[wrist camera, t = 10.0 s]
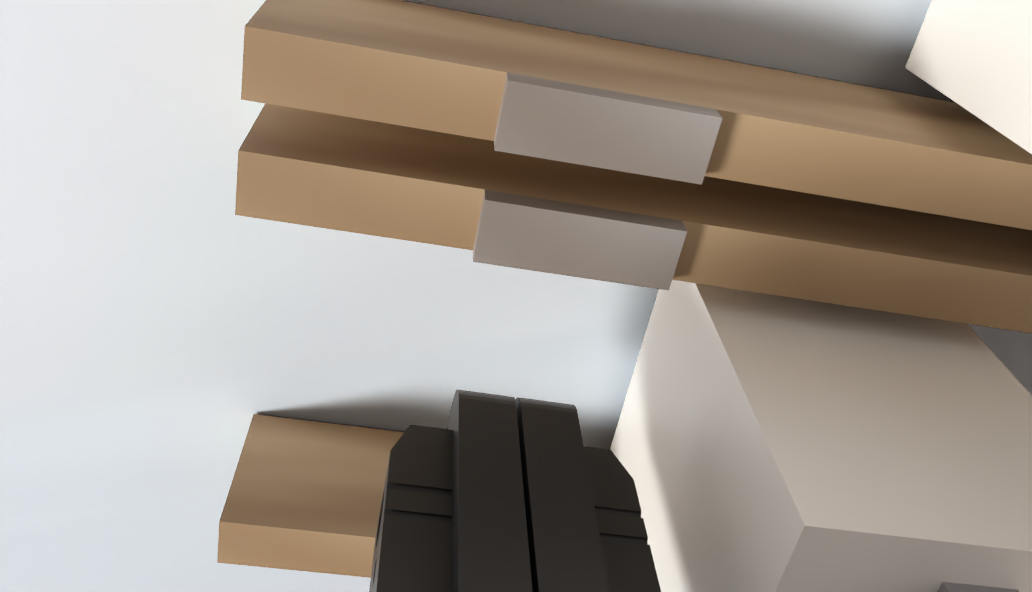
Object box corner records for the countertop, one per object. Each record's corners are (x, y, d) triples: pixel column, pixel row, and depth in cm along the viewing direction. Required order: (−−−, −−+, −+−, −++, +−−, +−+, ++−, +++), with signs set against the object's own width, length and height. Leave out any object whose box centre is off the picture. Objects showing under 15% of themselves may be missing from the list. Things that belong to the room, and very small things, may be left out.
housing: (276, 84, 13) (232, 160, 10) (1187, 237, 15) (1333, 332, 12) (250, 451, 16) (212, 578, 13) (1006, 538, 18) (1094, 662, 15)
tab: (674, 237, 14) (835, 593, 8) (924, 276, 14) (1249, 635, 8) (610, 449, 16) (700, 862, 10) (833, 476, 16) (1045, 883, 10)
